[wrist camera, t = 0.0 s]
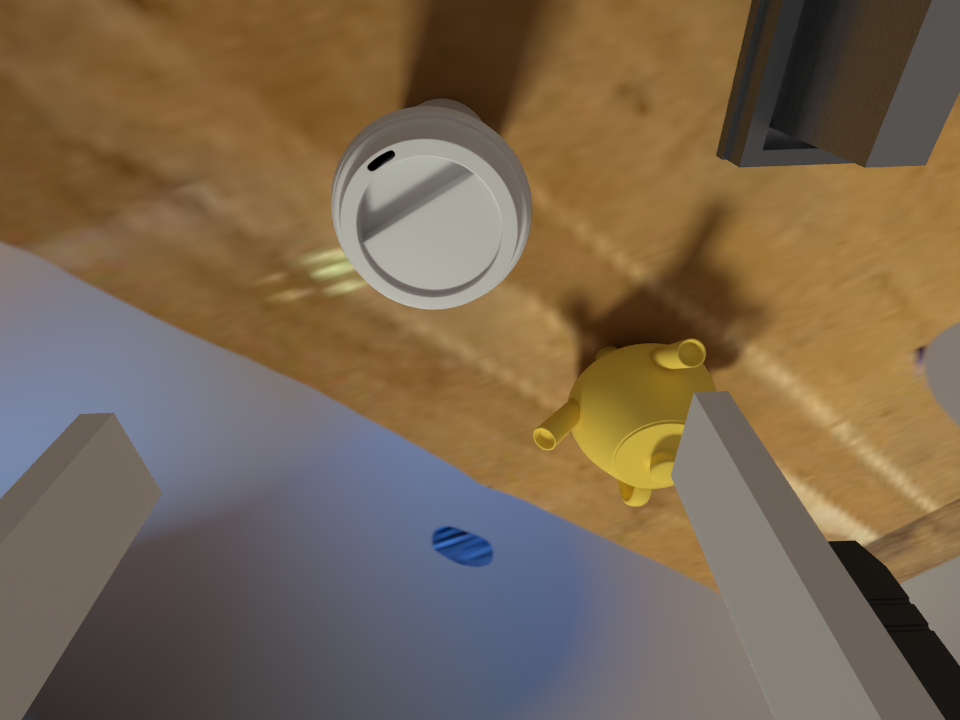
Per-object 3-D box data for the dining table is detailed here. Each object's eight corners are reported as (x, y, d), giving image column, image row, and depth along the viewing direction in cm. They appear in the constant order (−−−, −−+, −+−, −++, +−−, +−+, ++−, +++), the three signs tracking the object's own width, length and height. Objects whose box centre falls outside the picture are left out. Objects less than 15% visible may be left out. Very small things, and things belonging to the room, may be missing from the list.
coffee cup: (504, 59, 32) (526, 96, 19) (519, 208, 37) (544, 310, 25) (356, 84, 32) (287, 136, 20) (392, 227, 38) (356, 335, 26)
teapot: (660, 281, 41) (714, 362, 32) (730, 382, 47) (792, 473, 38) (519, 373, 46) (531, 465, 37) (599, 453, 52) (626, 548, 43)
